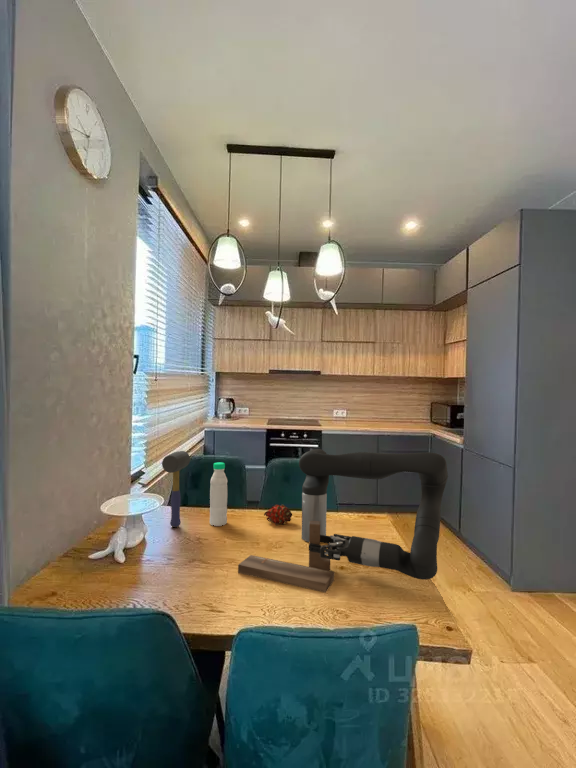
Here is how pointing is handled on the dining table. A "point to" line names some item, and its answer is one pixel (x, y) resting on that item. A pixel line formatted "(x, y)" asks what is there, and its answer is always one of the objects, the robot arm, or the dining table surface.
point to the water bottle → (218, 496)
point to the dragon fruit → (278, 514)
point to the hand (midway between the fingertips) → (313, 542)
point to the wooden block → (314, 538)
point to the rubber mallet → (175, 481)
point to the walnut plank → (287, 573)
